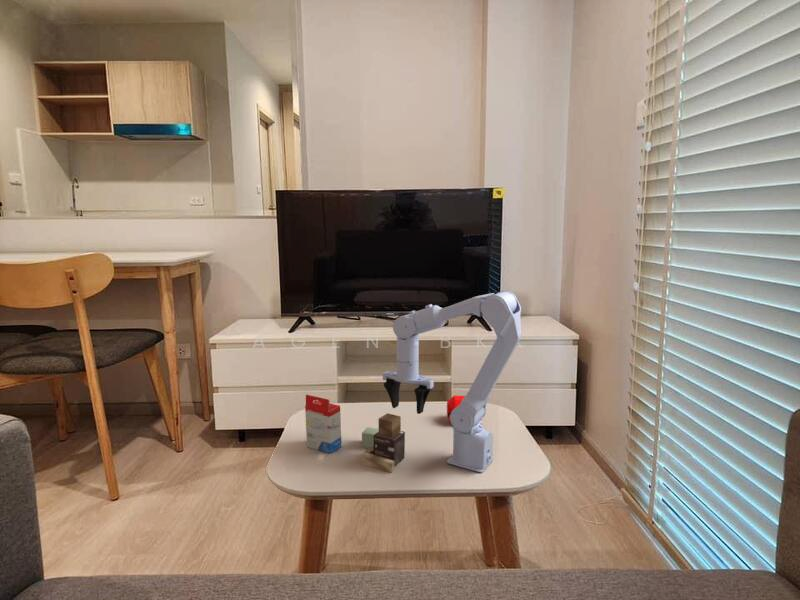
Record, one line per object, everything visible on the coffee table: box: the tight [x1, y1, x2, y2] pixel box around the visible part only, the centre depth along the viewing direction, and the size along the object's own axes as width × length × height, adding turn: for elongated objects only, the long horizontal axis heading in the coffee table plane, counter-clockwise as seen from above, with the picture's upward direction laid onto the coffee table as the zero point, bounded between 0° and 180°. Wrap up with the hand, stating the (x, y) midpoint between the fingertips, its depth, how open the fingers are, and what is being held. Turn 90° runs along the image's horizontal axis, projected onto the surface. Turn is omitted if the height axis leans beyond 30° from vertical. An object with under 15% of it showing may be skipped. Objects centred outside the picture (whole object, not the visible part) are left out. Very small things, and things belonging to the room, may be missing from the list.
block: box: [361, 426, 379, 449], centre depth 129 cm, size 4×4×4 cm
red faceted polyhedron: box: [446, 395, 466, 420], centre depth 144 cm, size 8×8×8 cm
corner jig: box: [360, 446, 395, 474], centre depth 120 cm, size 9×9×2 cm
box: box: [373, 430, 406, 468], centre depth 120 cm, size 6×6×7 cm
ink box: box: [304, 394, 342, 454], centre depth 127 cm, size 8×5×15 cm, turn 59°
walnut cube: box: [378, 413, 402, 437], centre depth 119 cm, size 4×4×4 cm
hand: (407, 409), depth 126 cm, fingers open, 7 cm apart
